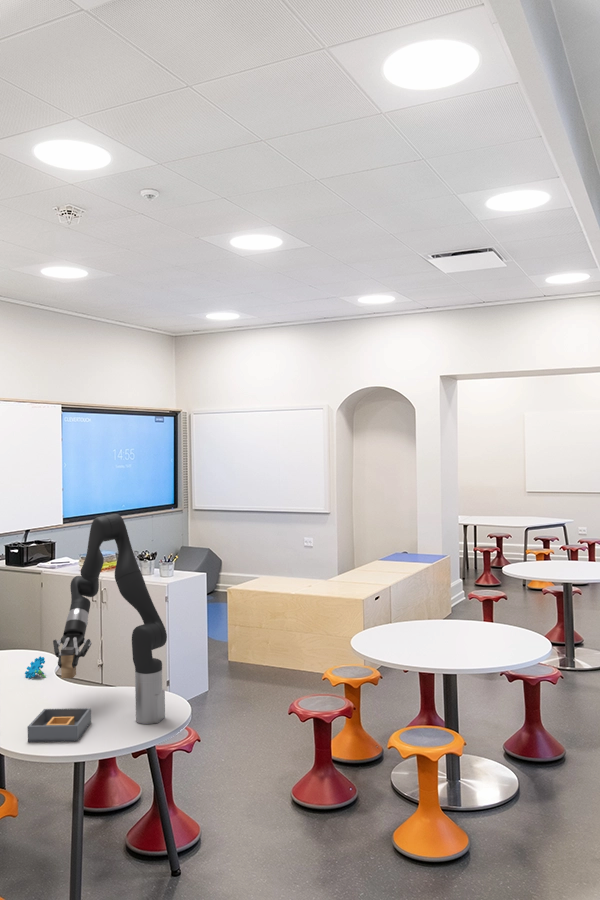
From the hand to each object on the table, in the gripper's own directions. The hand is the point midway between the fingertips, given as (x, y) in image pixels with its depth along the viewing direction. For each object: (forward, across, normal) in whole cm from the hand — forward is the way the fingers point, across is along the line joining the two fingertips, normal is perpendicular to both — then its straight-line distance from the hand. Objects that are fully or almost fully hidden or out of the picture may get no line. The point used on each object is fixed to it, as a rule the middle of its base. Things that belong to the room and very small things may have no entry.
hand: (67, 666), depth 260 cm
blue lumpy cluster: (-20, -27, +45) cm, 56 cm away
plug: (+2, 0, +4) cm, 5 cm away
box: (+22, +2, +2) cm, 23 cm away
